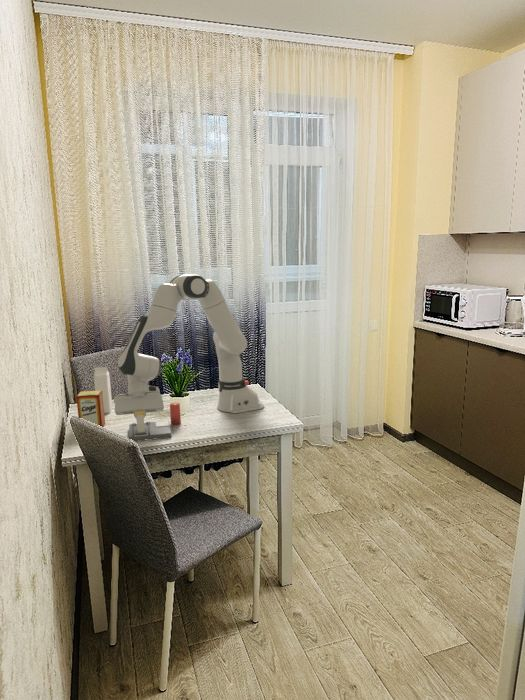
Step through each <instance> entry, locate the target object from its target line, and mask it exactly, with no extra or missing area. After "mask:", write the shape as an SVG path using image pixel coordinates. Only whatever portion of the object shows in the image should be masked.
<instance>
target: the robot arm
mask: <svg viewBox="0 0 525 700" xmlns="http://www.w3.org/2000/svg"><path fill="white" fill-rule="evenodd" d="M192 299H193V300H197V301H199V304H200V305H201V308H202V311H203V312H204V315H205V318H206V319H207V321H208V324H209V325H210V327H211V328H212V330H213V334H212V339H213V343H214V346H215V351H216V352H215V354H216V356H217V357H216V358H217V362H218V375H219V376H218V377H219V378H218V383H217V384H218V385H217V386H218V392H219V393H218V394H219V395H218V402H217V406H216V409H217V410H219V411H220V412H226V413H231V414H240V413H246V412H252V411H257V410H262V409H263V408H264V403H263V402H262V401H261V400H260V399H259V396H258V394H257V392H256V391H255V390H254V389H252V388H250V387H249V384H250V383H249V381H248V380H246V379H245V378H243V364H242V363H243V362H242V360H241V358H240V354H243V352H244V351H246V349H247V347H248V340H247V338H246V336H245V335H244V334H243V332H242V329H241V328H240V327H239V325H238V323H237V321H236V320H235V318H234V316H233V315H232V313H231V311H230V308H229V306H228V304H227V301H226V299H225V296H224V295H223V293H222V290H221V289H220V288H219V286H218V284H217V283H216V282H215V280H211V279H205V278H204V277H203V276H201V275H200V274H195V273H185V274H183V275H182V274H179V275H176V276H175V277H173V279H171V280H170V282H169V283H167V282H166V283H161V284H160V285H159V286H158V287H157V289H156V291H155V293H154V295H153V298H152V300H151V301H152V302H151V304H150V308H149V309H148V311H147V312H146V314H143V315H141V316H140V317H139V318H138V320H137V322H136V324H135V326H134V328H133V329H132V331H131V335H130V337H129V339H128V341H127V343H126V345H125V347H124V349H123V351H122V352H121V354H120V355H119V358H118V359H117V368H118V369H119V371H120V373H121V374H123V375H126V376H127V381H128V384H127V392H126V393H118V394H116V395H115V396H114V397H113V403H114V414H115V415H116V416H125V415H126V416H127V415H133V416H134V418H135V419H136V420H137V418H136V416H135V411H144V419H145V418H146V415H147V414H148V413H157V412H163V411H164V408H165V407H164V406H165V405H164V400H163V396H162V394H161V393H160V392H161V391H160V388H159V386H155V385H150V384H149V382H150V381H153V380H155V379H156V378H158V377H159V376H160V374H161V372H162V362H161V360H160V359H159V357H156V356H152V355H149V354H143V353H140V352H138V350H139V348H140V345H141V343H142V341H143V338H144V337H145V335H146V334H147V333H149V332H152V331H155V330H156V331H157V330H164V329H166V328H168V327H170V326H171V325H172V324H173V323H174V320H175V317H176V314H177V311H178V305H179V303H180V302H181V300H192Z"/></svg>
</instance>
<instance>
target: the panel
mask: <svg viewBox="0 0 525 700" xmlns="http://www.w3.org/2000/svg"><path fill="white" fill-rule="evenodd" d="M145 428H147V435H137V436H136V429H137V422H133V423H130V424H129V426H128V440H129V439H132V440H134V441H133V442H139V441H138V440H142V441H146V440H145V439H152V440H155V439H154V438H161V439H166V438H165V437H170V438H172V431H171V430H172V429H171V423H170V420H163V421H162V420H160V421H159V420H158V421H146V422H144V429H145Z"/></svg>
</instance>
